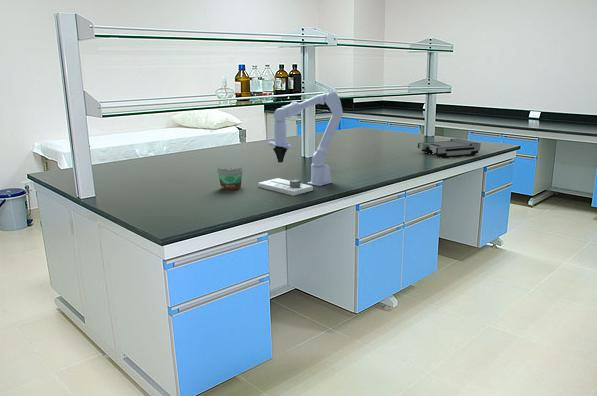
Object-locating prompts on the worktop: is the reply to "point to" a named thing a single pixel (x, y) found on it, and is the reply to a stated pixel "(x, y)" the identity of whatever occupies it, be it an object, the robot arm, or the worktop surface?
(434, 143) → the game console
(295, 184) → the fader tab
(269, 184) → the fader console
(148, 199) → the worktop surface
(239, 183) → the food container
